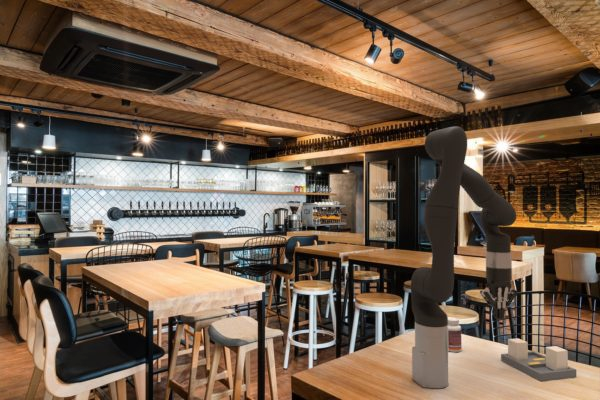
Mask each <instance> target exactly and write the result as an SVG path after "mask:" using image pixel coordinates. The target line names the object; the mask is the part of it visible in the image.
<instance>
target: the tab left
mask: <svg viewBox="0 0 600 400" xmlns="http://www.w3.org/2000/svg"><path fill="white" fill-rule="evenodd" d="M528 346H529V345H528V341H525V340H523V339H520V338H518V337H517V338H508V339H507V353H508V356H509V357H511V358H513V359H515V360H517V361H519V360H528V351H529V349H528V348H529V347H528Z"/></svg>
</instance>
